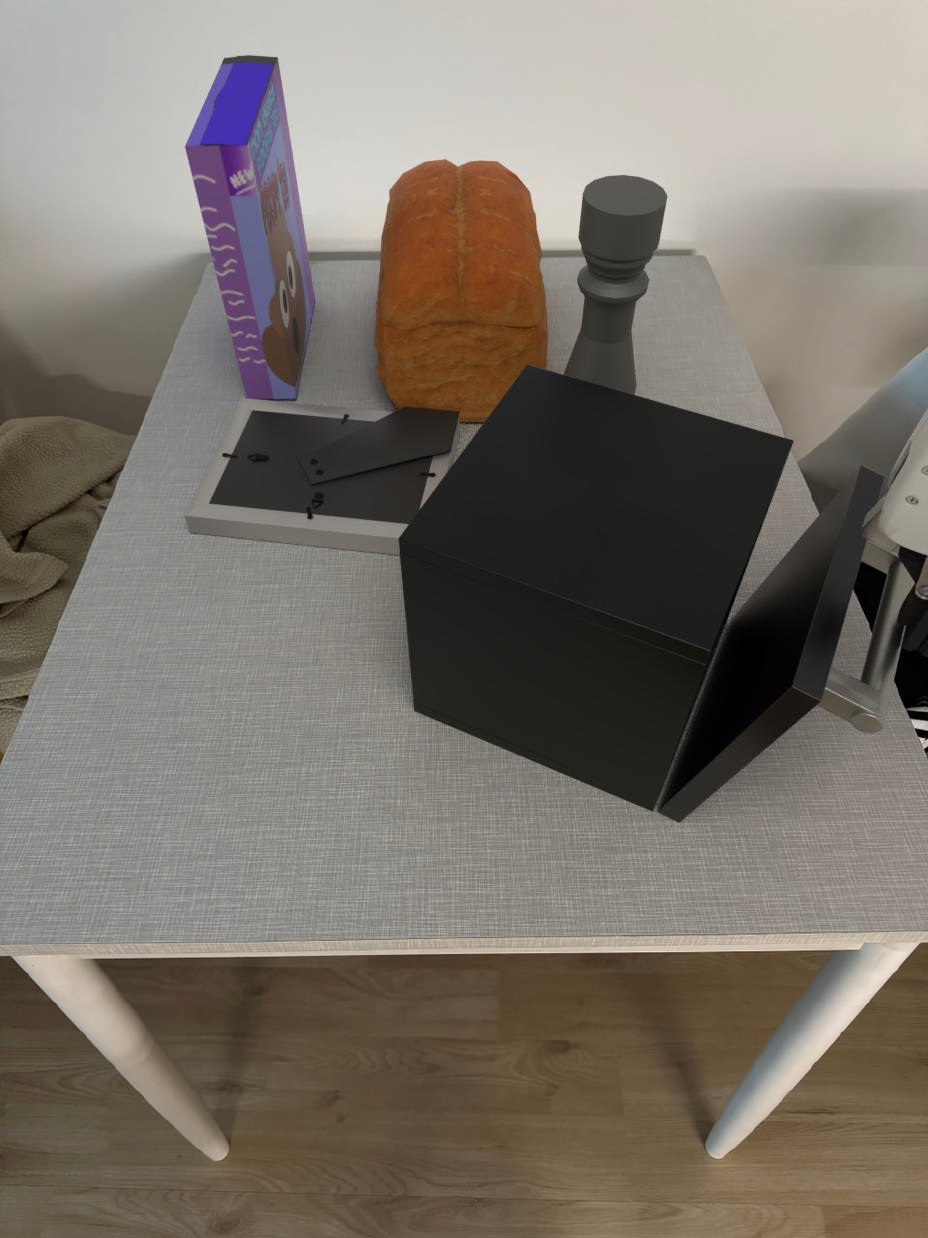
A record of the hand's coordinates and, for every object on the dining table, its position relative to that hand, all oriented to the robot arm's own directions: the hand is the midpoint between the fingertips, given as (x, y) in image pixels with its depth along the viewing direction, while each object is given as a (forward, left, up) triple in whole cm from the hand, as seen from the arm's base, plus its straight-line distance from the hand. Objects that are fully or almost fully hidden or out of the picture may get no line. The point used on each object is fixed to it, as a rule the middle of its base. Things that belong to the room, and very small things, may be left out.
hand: (919, 634), depth 49 cm
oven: (+19, 0, -15) cm, 24 cm away
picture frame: (+46, -9, -15) cm, 49 cm away
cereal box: (+61, -24, -15) cm, 67 cm away
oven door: (+7, 0, -15) cm, 16 cm away
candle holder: (+26, -20, -15) cm, 36 cm away
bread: (+45, -33, -15) cm, 58 cm away
